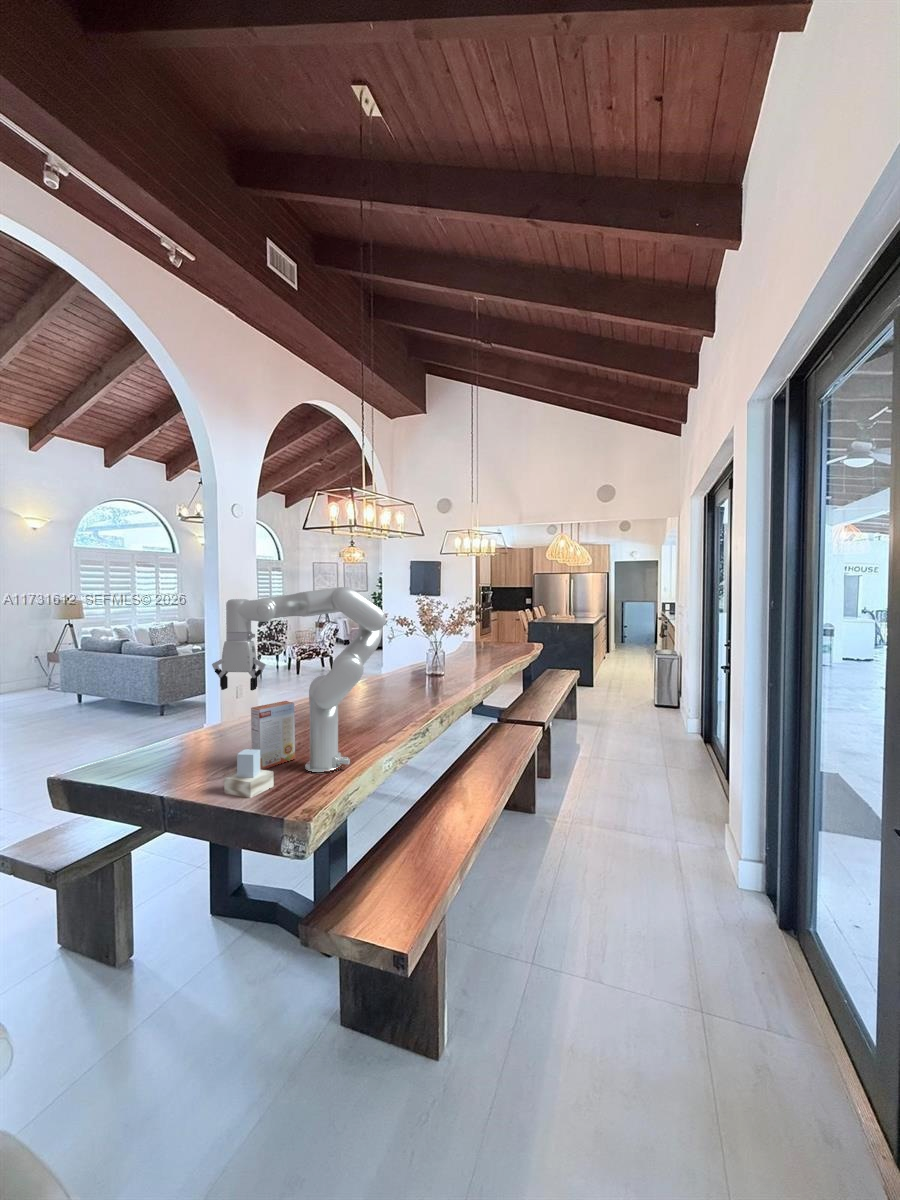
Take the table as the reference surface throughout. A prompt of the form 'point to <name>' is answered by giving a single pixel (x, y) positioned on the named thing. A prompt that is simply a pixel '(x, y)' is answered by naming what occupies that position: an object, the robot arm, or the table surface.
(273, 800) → the table surface
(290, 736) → the cracker box
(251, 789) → the ash base block
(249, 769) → the blue-grey block
